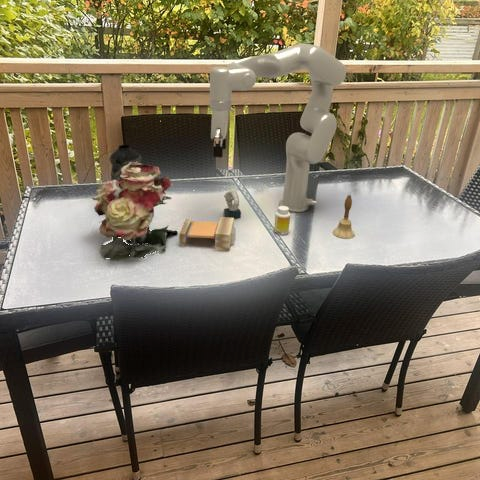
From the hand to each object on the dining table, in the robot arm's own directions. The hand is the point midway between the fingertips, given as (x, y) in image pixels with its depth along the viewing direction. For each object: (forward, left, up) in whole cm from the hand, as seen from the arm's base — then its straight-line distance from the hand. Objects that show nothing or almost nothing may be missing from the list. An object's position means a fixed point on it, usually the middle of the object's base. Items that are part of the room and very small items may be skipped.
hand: (219, 152), depth 166 cm
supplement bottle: (-25, +5, -28) cm, 38 cm away
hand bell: (-49, +2, -28) cm, 57 cm away
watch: (-5, -5, -28) cm, 29 cm away
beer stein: (+38, -8, -28) cm, 48 cm away
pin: (-4, +16, -28) cm, 32 cm away
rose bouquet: (+27, +24, -28) cm, 45 cm away
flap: (+4, +16, -24) cm, 29 cm away
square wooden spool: (+2, +16, -28) cm, 32 cm away
